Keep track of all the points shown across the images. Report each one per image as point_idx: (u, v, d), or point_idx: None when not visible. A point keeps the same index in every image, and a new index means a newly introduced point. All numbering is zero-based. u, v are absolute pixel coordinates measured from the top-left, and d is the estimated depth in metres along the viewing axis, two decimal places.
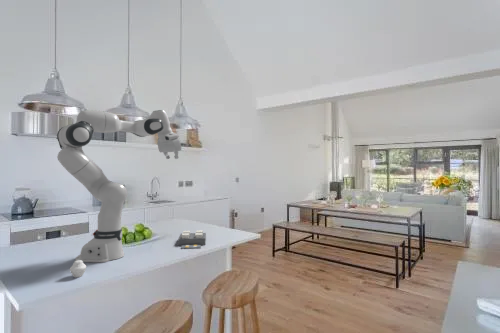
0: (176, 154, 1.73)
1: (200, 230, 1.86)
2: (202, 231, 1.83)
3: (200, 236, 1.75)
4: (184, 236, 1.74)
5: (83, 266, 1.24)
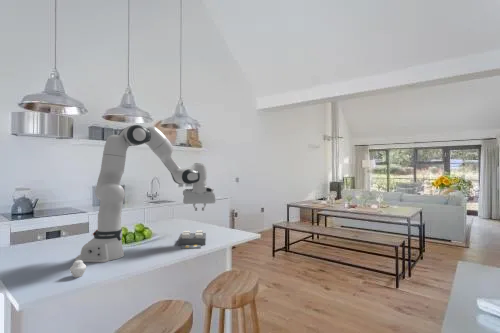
0: None
1: (200, 230, 1.86)
2: (202, 231, 1.83)
3: (200, 236, 1.75)
4: (184, 236, 1.74)
5: (83, 266, 1.24)
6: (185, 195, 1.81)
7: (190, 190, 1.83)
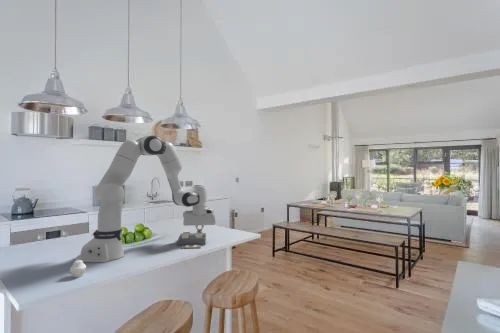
0: (202, 228, 1.84)
1: None
2: (202, 232, 1.83)
3: (200, 236, 1.75)
4: (184, 236, 1.74)
5: (83, 266, 1.24)
6: (185, 217, 1.81)
7: (190, 212, 1.83)
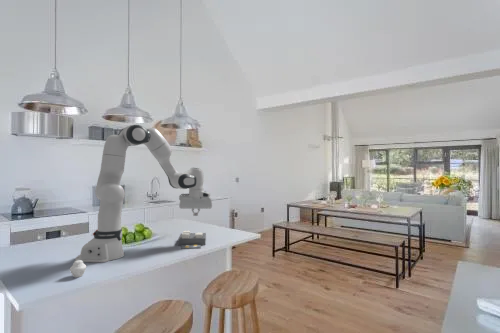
0: None
1: None
2: (202, 233, 1.83)
3: (200, 236, 1.75)
4: (184, 236, 1.74)
5: (83, 266, 1.24)
6: (181, 200, 1.79)
7: (186, 195, 1.81)
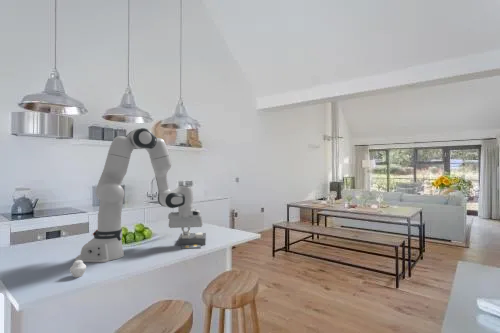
0: None
1: None
2: (202, 233, 1.83)
3: (200, 236, 1.75)
4: (184, 236, 1.74)
5: (83, 266, 1.24)
6: (170, 219, 1.73)
7: (176, 213, 1.75)
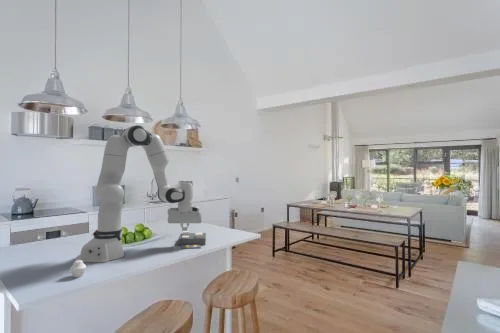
0: None
1: None
2: (202, 233, 1.83)
3: (200, 236, 1.75)
4: None
5: (83, 266, 1.24)
6: (170, 214, 1.73)
7: (175, 209, 1.75)
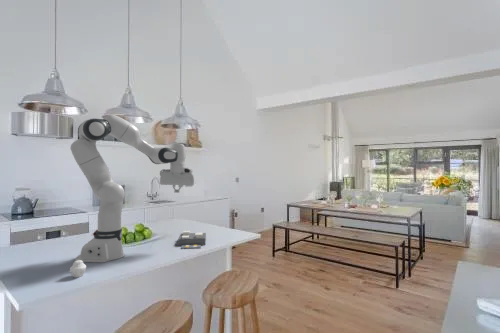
0: None
1: None
2: (202, 233, 1.83)
3: (200, 236, 1.75)
4: None
5: (83, 266, 1.24)
6: (162, 175, 1.72)
7: (167, 170, 1.74)
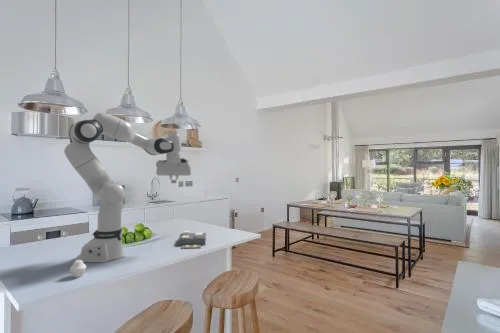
0: (177, 178, 1.74)
1: None
2: (202, 233, 1.83)
3: (200, 236, 1.75)
4: None
5: (83, 266, 1.24)
6: (158, 166, 1.72)
7: (164, 161, 1.73)
